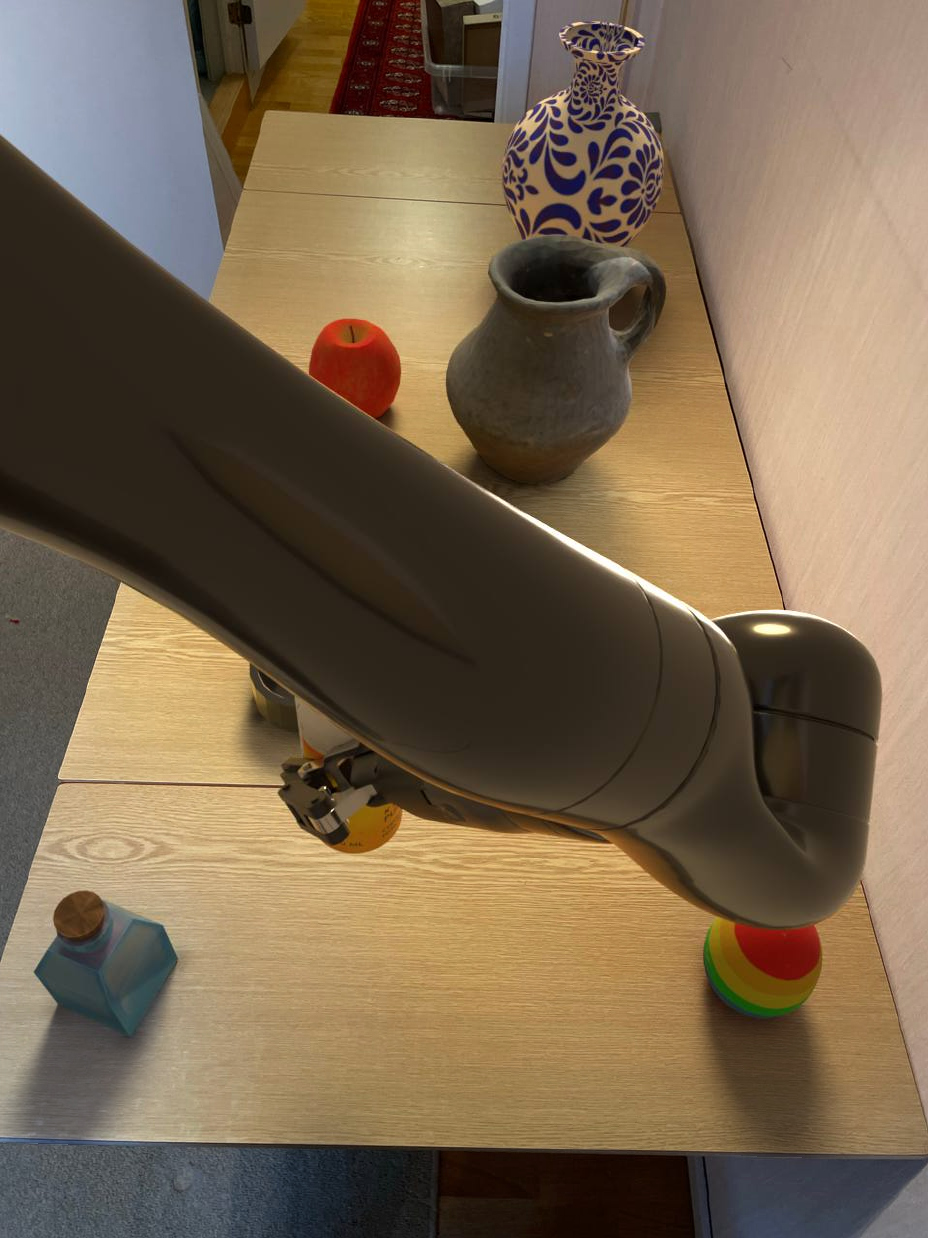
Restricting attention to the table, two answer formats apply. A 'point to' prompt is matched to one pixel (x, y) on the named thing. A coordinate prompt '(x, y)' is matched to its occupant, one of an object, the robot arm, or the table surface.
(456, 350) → the pitcher
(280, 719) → the round brown bowl
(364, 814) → the beer can
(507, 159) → the vase
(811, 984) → the striped foam ball
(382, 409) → the apple
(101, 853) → the table surface
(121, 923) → the perfume bottle
